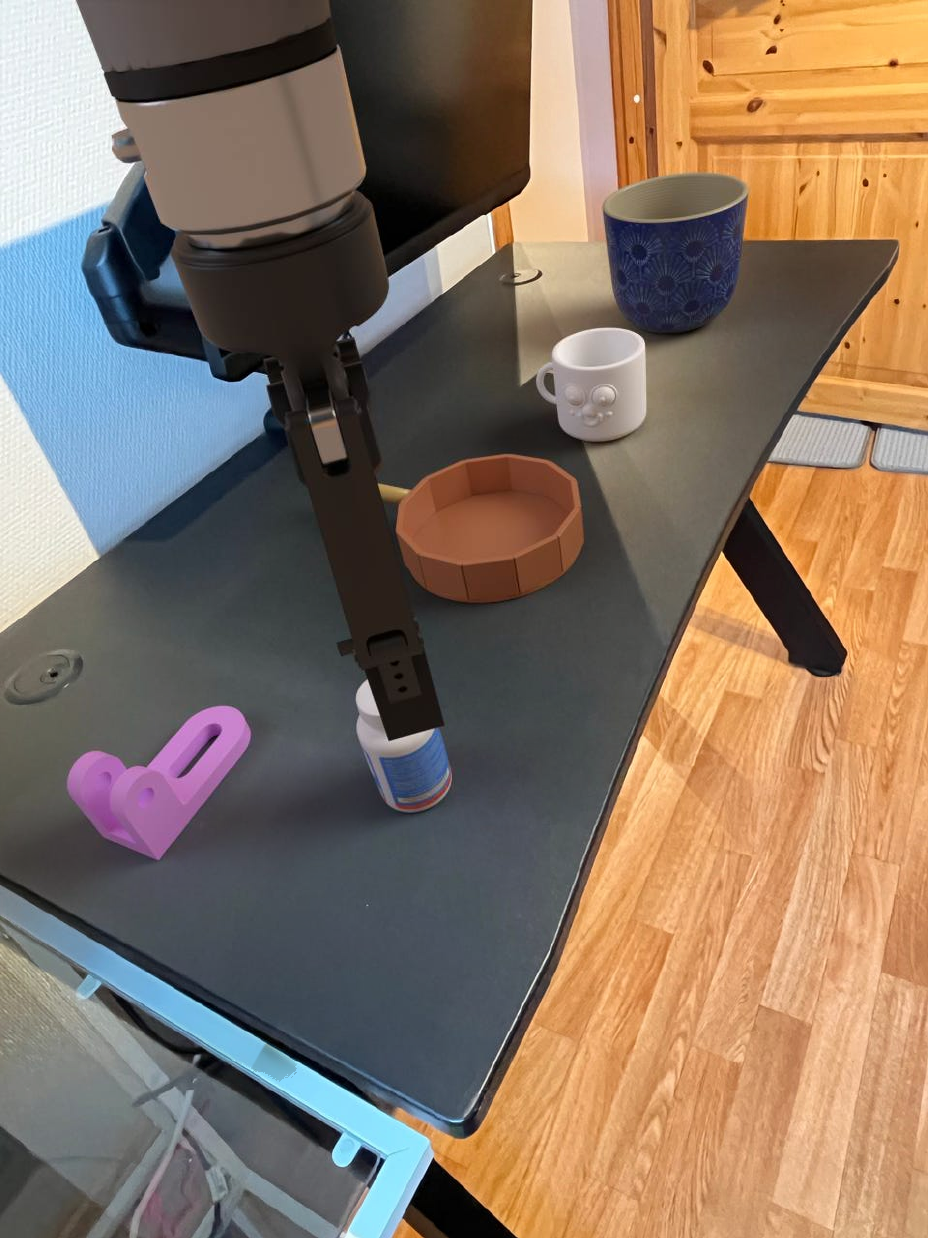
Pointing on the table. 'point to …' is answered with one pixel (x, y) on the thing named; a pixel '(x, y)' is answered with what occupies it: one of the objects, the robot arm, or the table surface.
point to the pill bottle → (402, 760)
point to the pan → (489, 527)
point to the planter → (675, 248)
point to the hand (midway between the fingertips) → (392, 634)
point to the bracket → (159, 782)
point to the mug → (598, 383)
